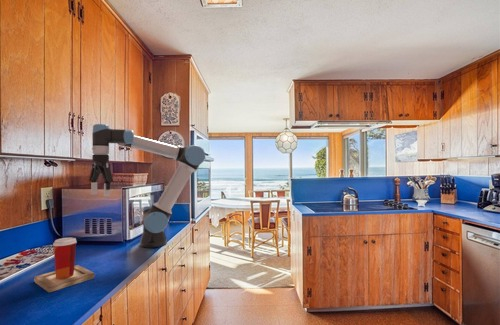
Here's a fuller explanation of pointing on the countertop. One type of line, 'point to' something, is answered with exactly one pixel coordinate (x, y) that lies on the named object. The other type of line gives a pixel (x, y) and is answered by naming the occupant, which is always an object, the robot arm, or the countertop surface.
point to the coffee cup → (64, 257)
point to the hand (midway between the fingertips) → (100, 195)
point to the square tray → (52, 284)
